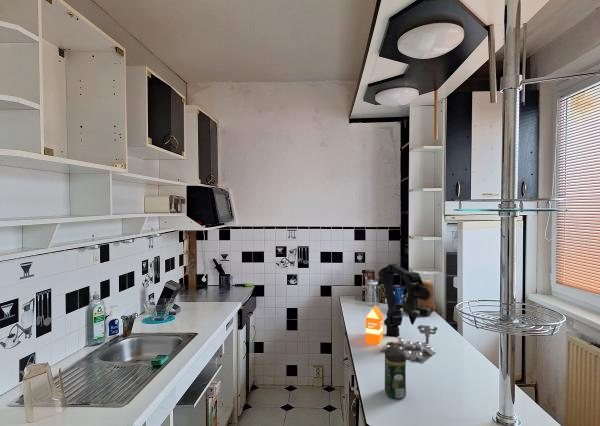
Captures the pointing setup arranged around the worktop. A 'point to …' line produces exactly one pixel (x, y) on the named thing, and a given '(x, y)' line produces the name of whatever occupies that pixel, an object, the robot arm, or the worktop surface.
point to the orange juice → (374, 327)
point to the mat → (414, 354)
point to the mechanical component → (427, 331)
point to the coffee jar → (395, 373)
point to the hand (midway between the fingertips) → (412, 324)
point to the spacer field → (426, 349)
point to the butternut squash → (429, 302)
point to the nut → (392, 344)
